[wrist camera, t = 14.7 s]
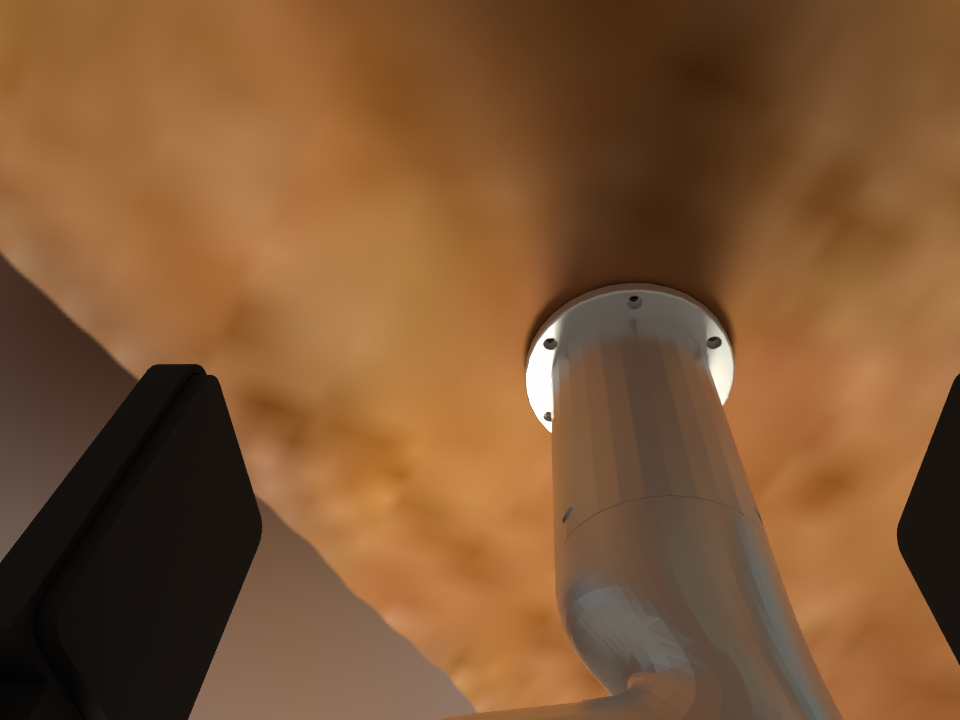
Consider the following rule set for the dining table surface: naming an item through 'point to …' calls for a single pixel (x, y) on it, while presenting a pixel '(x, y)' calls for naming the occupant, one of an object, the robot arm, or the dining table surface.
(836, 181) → the dining table surface
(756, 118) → the dining table surface
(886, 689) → the dining table surface
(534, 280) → the dining table surface
